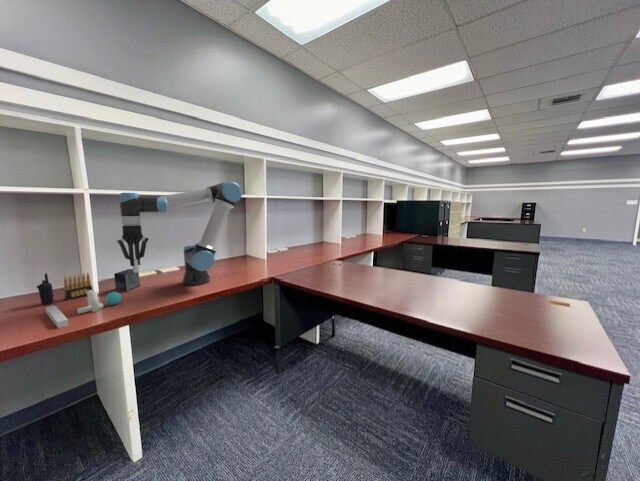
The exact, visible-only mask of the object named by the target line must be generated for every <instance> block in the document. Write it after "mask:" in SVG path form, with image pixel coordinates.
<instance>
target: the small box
mask: <svg viewBox="0 0 640 481" xmlns="http://www.w3.org/2000/svg"><path fill="white" fill-rule="evenodd" d="M113 276H114V284H115V292H116V291H123V292H122V293H127V291H128V292H129V290H130V291H132V290H134V288H135V289H136V287H137V288H139V287H141V284H140V274H139V272H137V273H134V272H133V268H128V269H125V270H122V271H118V272H116V273H113ZM138 286H139V287H138Z"/></svg>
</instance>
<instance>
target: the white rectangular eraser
mask: <svg viewBox="0 0 640 481" xmlns="http://www.w3.org/2000/svg"><path fill="white" fill-rule="evenodd" d="M45 314H46V315H47V316H48V317H49V319H50V320H51V321H52V322H53V324H54V325H55V326H56V328H57V329H61V328H64V327H68V326H69V318H67V317H66V316H65V314H64V313H63V312H62V311H61V310H60V309H59V308H58V307H57V305H52V306H47V307H45Z"/></svg>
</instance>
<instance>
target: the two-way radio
mask: <svg viewBox="0 0 640 481" xmlns="http://www.w3.org/2000/svg"><path fill="white" fill-rule="evenodd" d="M49 282H50V281H49V277H48V273H47V272H45V273H44V279H43V280H42V281H41V283H40V284H38V285H36V288H37V290H38V292H39V293H38V294H39V298H40V303H41V305H51V304H54V303H55V300H54V291H53V290H54V289H53V285H52V283H49Z"/></svg>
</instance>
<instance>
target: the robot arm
mask: <svg viewBox="0 0 640 481" xmlns="http://www.w3.org/2000/svg"><path fill="white" fill-rule="evenodd" d="M242 196H243V190H242V188H241V186H240V185H239V184H238V183H237V182H235V181H229V180H228V181H225V182H220V183H218V184H215V185H214V184H213V185H211V186H206V188H203V189H195V190H191V191H184V192H179V193H172V194H167V195H165V194H164V195H160V196H154V197H151V196H148V197H146V196H139V193H137V192H121V193H120V194H119V205H120V206H119V207H120V216H121V224H122V226H121V230H122V236H121V238H120V239H116V243H117V244H118V245H119V247H120V248H121V249H120V250H121V251H122V254H123V257H124V259H126V260H129V264H130V267H132V269H133V272H134V273H137V272H139V266H140V265H141V258H144V257H145V252H146V248H147V243H148V241H149V238H148V237H145V236H144V235H143V233H142V232H143V231H142V225H141V223H142V222H141V220H142V218H141V213H166V212H168V209H175V208H180V207H185V206H186V207H187V206H190V205H195V204H201V203H203V204H204V203H207V202H209V203H212V204H213V203H215V204H214V207H213V209H212V211H211V215H210V217H209V219H208V222H207V224H206V227H205V228H204V230H203V234H202V236H201V239H200V240H199V241H198V242H196V243H195V244H194V245H185V246H184V247H183V258H184V261H183V262H184V274H183V276H182V277H183V278H182V284H183V285H184V286H199V285H205V284H207V283H209V282H210V281H211V280H210V279H211V277H210V275H209V272H208V270H210V269H212V267H213V266H214V264H215V261H216V259H215V255H216V252H217V248H216V246H217V243H218V240H219V239H220V235H221V233H222V230H223V228H224V225H225V224H226V221H227V219H228V217H229V214H230V212H231V210H232V209H234V208H235V206H236V204H237V202H239V201H240V199H241V198H242ZM140 242H141V245H140ZM125 243H127V246H128V247H127V248H126V246H125ZM127 249H128V251H127Z"/></svg>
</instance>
